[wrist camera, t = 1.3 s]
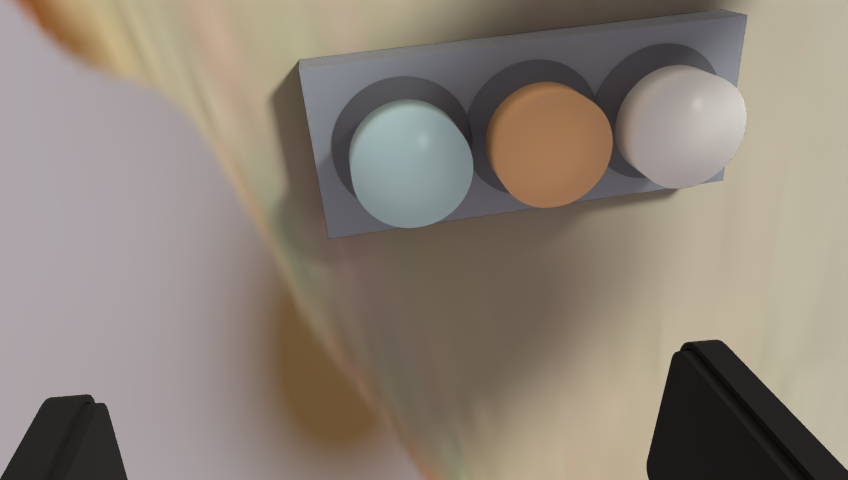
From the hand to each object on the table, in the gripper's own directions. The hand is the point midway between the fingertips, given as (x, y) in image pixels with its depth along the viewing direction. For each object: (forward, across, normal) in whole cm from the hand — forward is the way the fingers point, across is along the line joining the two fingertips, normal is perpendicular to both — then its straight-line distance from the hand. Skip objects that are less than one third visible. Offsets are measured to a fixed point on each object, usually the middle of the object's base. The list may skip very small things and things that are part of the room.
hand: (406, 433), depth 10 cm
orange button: (+18, -8, +1) cm, 20 cm away
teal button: (+18, -2, +1) cm, 18 cm away
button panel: (+21, -8, +1) cm, 23 cm away
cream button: (+18, -14, 0) cm, 23 cm away
